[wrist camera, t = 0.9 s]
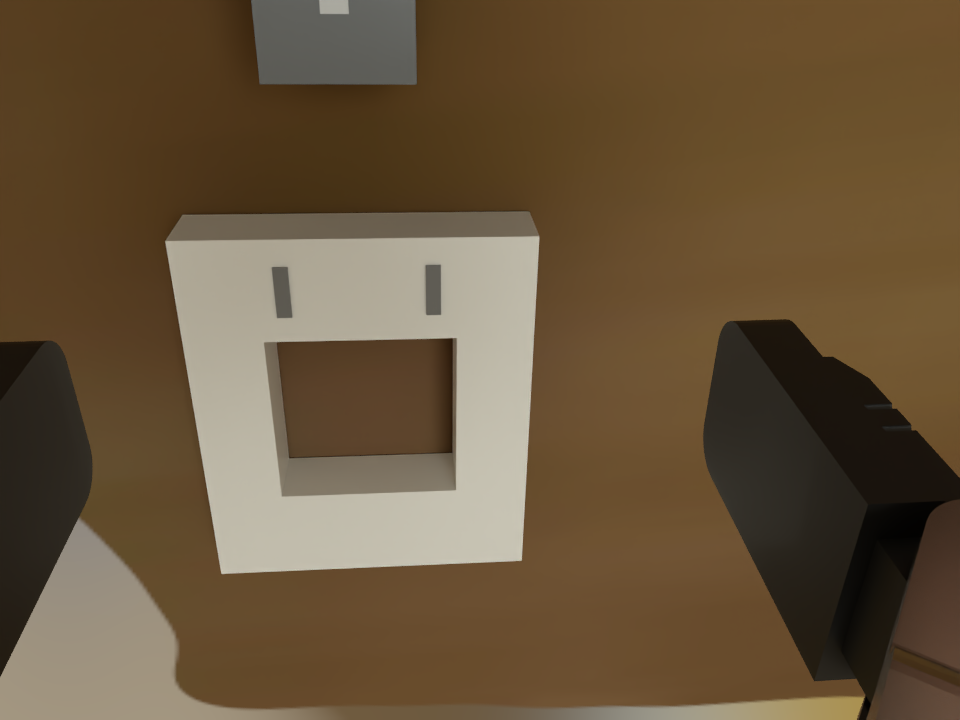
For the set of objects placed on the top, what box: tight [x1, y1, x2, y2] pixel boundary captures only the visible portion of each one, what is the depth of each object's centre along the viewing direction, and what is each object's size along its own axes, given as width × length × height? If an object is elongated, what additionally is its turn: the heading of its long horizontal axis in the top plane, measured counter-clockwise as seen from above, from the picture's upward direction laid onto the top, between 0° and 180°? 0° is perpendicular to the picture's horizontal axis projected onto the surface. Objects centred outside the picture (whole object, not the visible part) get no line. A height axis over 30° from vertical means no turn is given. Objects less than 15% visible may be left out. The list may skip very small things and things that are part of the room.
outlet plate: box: [165, 211, 539, 574], centre depth 32 cm, size 14×12×3 cm
